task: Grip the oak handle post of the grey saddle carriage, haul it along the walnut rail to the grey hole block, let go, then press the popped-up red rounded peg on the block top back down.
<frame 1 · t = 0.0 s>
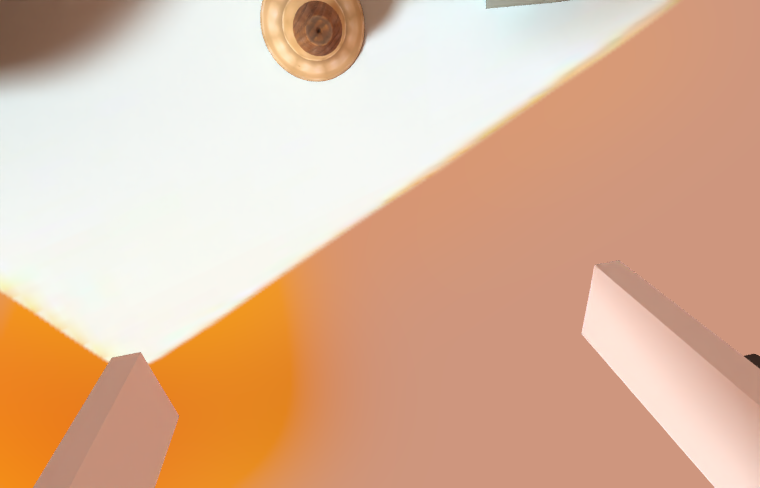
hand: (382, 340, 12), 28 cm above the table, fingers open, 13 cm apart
hand bell: (313, 26, 32), on the table
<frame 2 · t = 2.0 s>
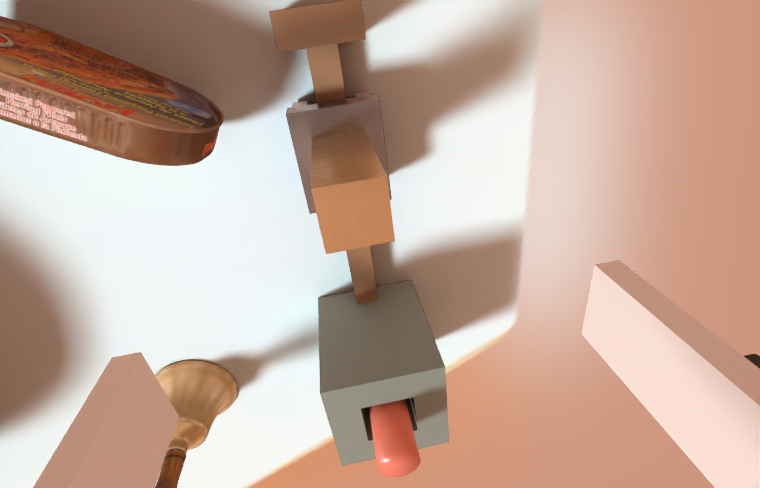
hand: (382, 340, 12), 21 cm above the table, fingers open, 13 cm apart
red rounded peg: (389, 414, 30), point 10 cm above the table, slide at 0.0 cm
grey hole block: (371, 324, 39), on the table
carriage: (345, 172, 24), point 7 cm above the table, slide at 0.0 cm
tin: (114, 81, 26), on the table
rail: (346, 186, 32), on the table
hand bell: (195, 387, 40), on the table
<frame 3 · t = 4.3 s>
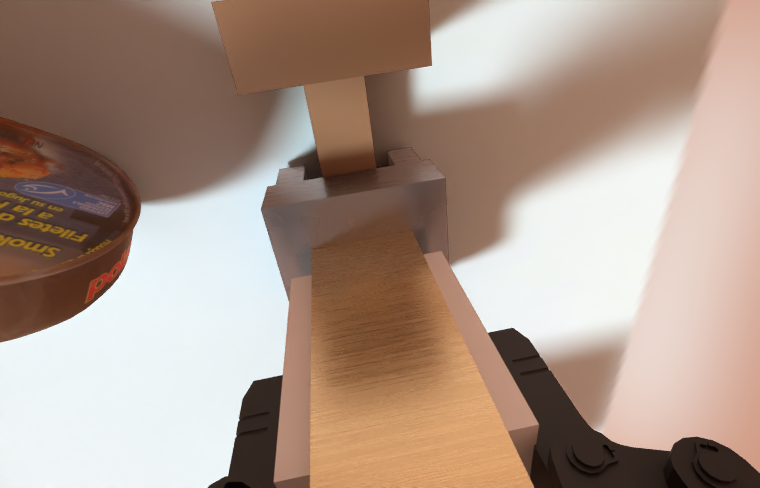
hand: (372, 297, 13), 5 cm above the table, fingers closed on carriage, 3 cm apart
carriage: (379, 329, 12), point 7 cm above the table, slide at 0.0 cm, touching gripper
rail: (368, 291, 20), on the table
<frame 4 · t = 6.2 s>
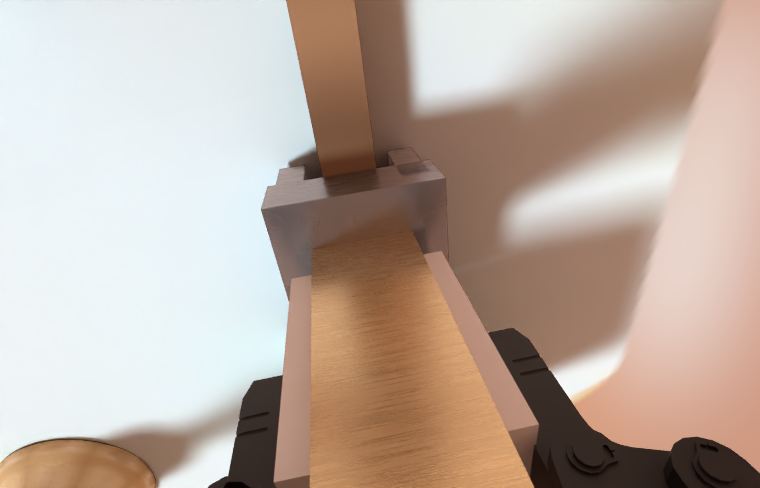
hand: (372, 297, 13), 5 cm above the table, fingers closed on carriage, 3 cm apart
carriage: (379, 329, 12), point 7 cm above the table, slide at 8.9 cm, touching gripper
rail: (337, 107, 15), on the table
hand bell: (81, 479, 24), on the table
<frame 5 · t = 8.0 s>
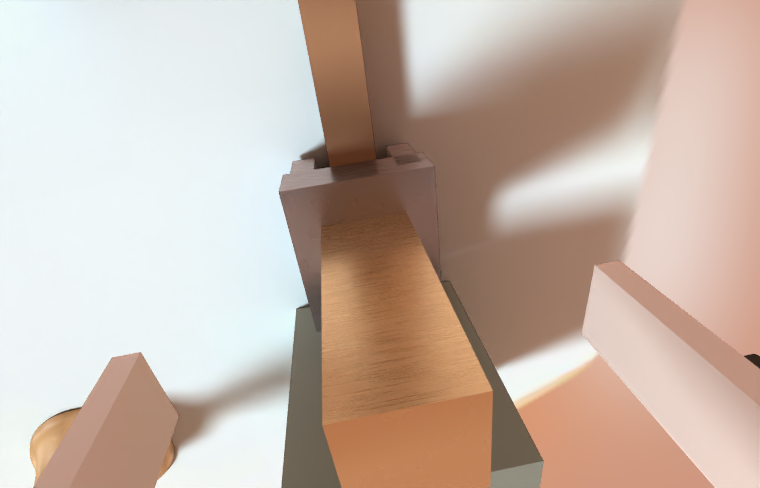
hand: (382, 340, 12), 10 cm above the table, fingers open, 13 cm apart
grey hole block: (383, 351, 25), on the table
carriage: (378, 292, 14), point 7 cm above the table, slide at 9.0 cm
rail: (342, 106, 17), on the table
hand bell: (108, 446, 26), on the table
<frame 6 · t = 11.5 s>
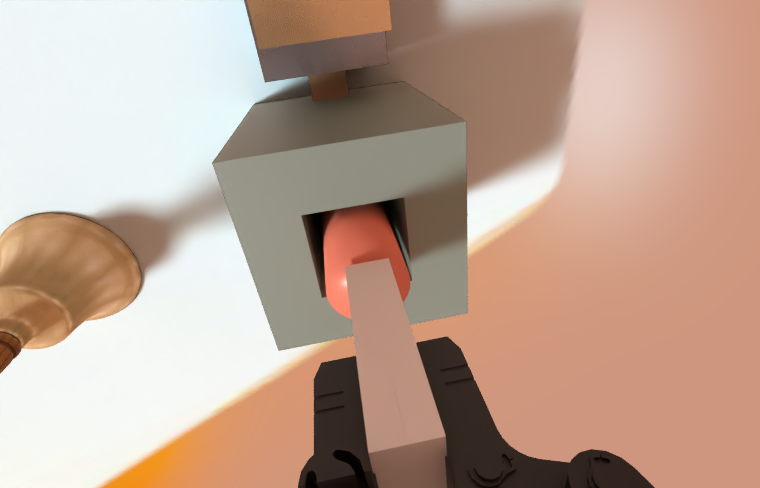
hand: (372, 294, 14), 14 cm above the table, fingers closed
red rounded peg: (357, 234, 17), point 10 cm above the table, slide at 0.9 cm, touching gripper
grey hole block: (342, 165, 25), on the table
hand bell: (74, 267, 26), on the table
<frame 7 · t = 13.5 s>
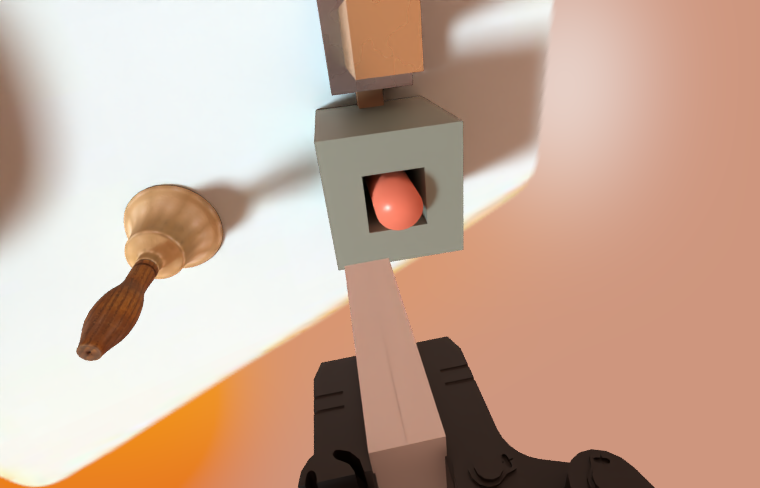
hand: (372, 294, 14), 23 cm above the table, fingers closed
red rounded peg: (389, 186, 28), point 8 cm above the table, slide at 2.2 cm
grey hole block: (374, 155, 35), on the table
carriage: (371, 36, 24), point 7 cm above the table, slide at 9.0 cm
hand bell: (175, 226, 36), on the table
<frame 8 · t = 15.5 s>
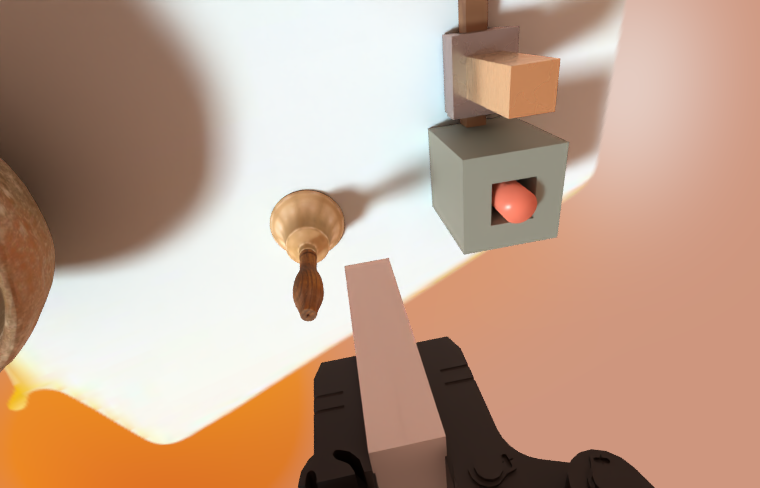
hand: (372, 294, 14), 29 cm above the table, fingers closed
red rounded peg: (500, 190, 36), point 8 cm above the table, slide at 2.2 cm
grey hole block: (469, 162, 43), on the table
carriage: (496, 78, 33), point 7 cm above the table, slide at 9.0 cm
rail: (468, 6, 36), on the table
hand bell: (307, 223, 44), on the table
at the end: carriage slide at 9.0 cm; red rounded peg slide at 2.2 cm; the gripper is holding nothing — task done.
